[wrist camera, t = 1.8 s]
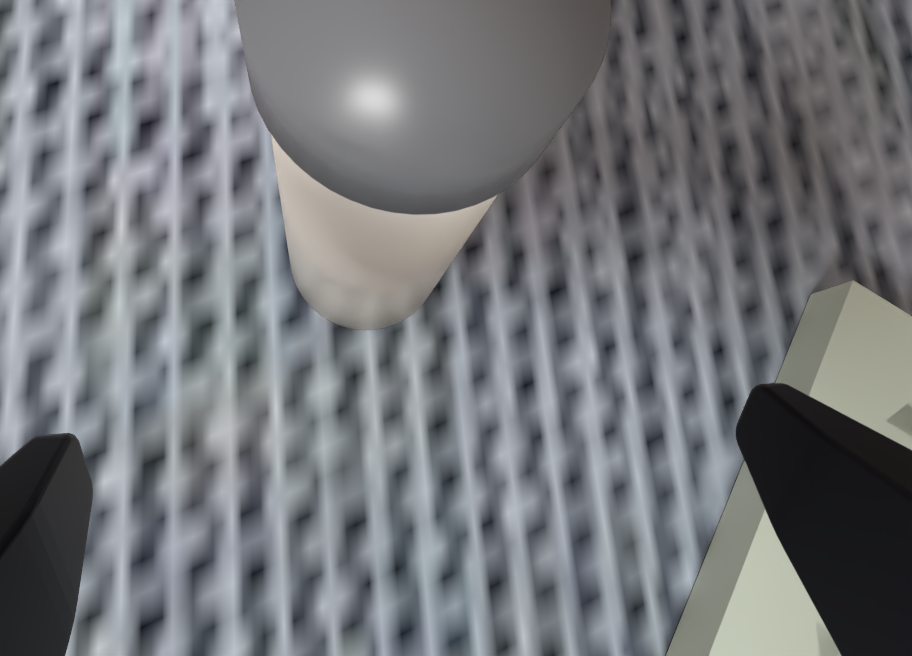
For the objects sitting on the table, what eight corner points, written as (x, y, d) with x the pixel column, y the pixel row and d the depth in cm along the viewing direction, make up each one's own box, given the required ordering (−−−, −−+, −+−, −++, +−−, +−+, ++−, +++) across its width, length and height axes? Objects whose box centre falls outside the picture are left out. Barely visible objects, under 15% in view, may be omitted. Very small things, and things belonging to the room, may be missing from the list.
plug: (396, 366, 21) (510, 233, 9) (251, 284, 21) (146, 18, 8) (471, 232, 22) (666, -54, 10) (336, 153, 22) (358, -253, 9)
